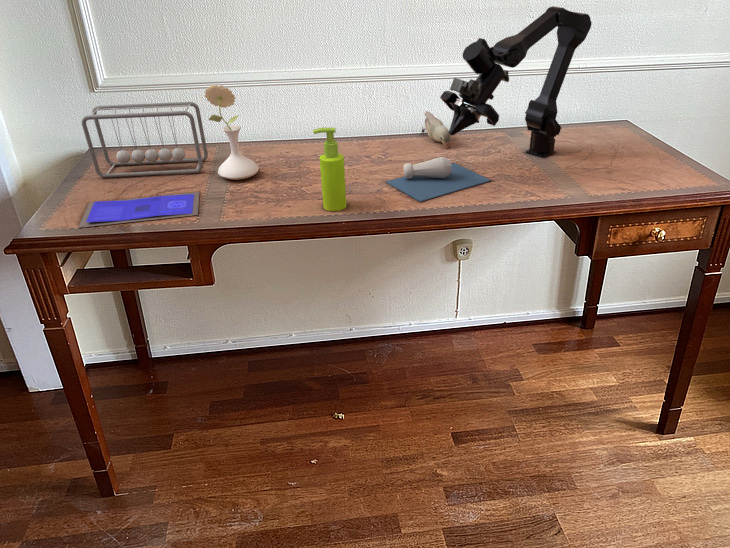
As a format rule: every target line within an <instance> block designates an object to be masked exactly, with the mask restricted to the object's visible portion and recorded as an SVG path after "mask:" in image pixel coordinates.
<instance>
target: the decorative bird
mask: <svg viewBox="0 0 730 548" xmlns="http://www.w3.org/2000/svg"><path fill="white" fill-rule="evenodd" d="M423 115H424V116H425V118H424V126H423V125H421V126H422V127H421V133H420V135H422V134H423V136H425V134H427V135H428V137H429V138H430V139H431V140H432V141H436V142H438V143H441V144H442V145H443V146H444V148H446V149H447V148H448V147H449V146H450V142H451V135H450V134H449V130H450V129H449V128H447V126H445V125H444V123H443V121H442V120H441V119H439V118H437V117H435V115H434V114H433V113H432V112H430V111H429V110H425V112H423Z"/></svg>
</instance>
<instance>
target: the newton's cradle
mask: <svg viewBox="0 0 730 548" xmlns="http://www.w3.org/2000/svg"><path fill="white" fill-rule="evenodd" d="M179 107H181V108H183V107H184V108H185V107H186V108H185V109H184V110H172V108H179ZM190 107H193V108H194V110H195V114H196V119H197V125H198V131H199V134H200V140H201V145H202V146H201V147H202V151H203V156H202V154H201V153H202V152H201V149H200V142H199V138H198V132H197V127H196V121H195V118H194V116H193V114H192V113H191V112H189V111H188V110H189V108H190ZM158 108H168V110H166V111H159V110H158ZM136 109H137V110H138V109H140V110H141V109H142V111H139V112H131V110H136ZM144 109H154V110H153V111H145V110H144ZM116 110H126V111H125V112H123V113H122V112H120V113H118V112H117V111H116ZM98 111H114V112H115V113H102V114H101V113H99V114H97V112H98ZM128 111H129V112H128ZM178 116H179V117H180V116H186V117H187V118H188V119H189V122H190V127H191V133H192V138H193V141H194V149H195V153H196V157H192V158H190V157H189V158H188V157H187V158H186V152H185V150H184V149H183V148H182V147H178V140H177V133H174V132H176V129H175V127H173V126H175V122H174V121H172V124H173V126H172V124H171V120H170V117H171V118H172V120H174V117H178ZM157 117H158V118H157ZM160 117H168V121H169V125H170V129H171V132H172V137H173V140H174V144H175V147H174V148H173V149H172V150H170V149H168V148H166V147H165V145H164V144H165V143H163V142H164V139H163V133H162V127H161V122H160V121H161V120H158V122H159V127H158V123H157V121H156V118H157V119H160ZM133 118H134V119H135V118H139V120H140V124H141V126H142V130H143V133H144V136H145V139H146V142H147V146H148V149H147V150H146V151H145V152H144V151H143V150H141V149H138V146H137V139H136V137H135V131H134V126H133V125H134V124H133V121H132V120H133ZM141 118H144V122H145V128H146V131H145V128H144V124H143V121H142V119H141ZM146 118H154V122H155V125H156V129H157V133H158V136H159V140H160V143H161V146H162V148H161V149H159V151H157V150H156V149H154V148H151V143H150V136H149V131H148V125H147V119H146ZM110 119H111V121H112V122H111V123H112V126H113V130H114V132H115V136H116V139H117V142H118V145H119V149H120V150H119V151H117V153H116V155H115V157H116V160H117V162H120V163H114V162H115V161H112V160H111V159H110V157H109V153H108V150H107V145H106V142H105V139H104V135H103V132H102V127H101V124H100V121H99V120H110ZM113 119H116V124H117V125H116V126H117V129H118V134H117V131H116V127H115V124H114V121H113ZM118 119H125V121H126V123H127V124H126V125H127V127H128V131H129V133H130V136H131V139H132V142H133V145H134V150H133V151H132V152H131V154H130V153H129V152H128V151H127V150H124V149H123V146H122V145H123V144H121V143H122V138H118V136H119V137H121V134H120V127H119V121H118ZM128 119H130V122H131V125H132V126H131V127H132V132H133V134H132V132H131V128H130V126H129V122H128ZM90 120H93V121H94V125H95V128H96V132H97V135H98V139H99V143H100V146H101V150H102V154H103V157H104V160H105V162H106V163H107V164H108V165H110V166H111V167H110V168H109V170H108V171H107V172H106V173H103V172H102V171H101V170H100V167H99V163H98V159H97V156H96V153H95V149H94V146H93V142H92V139H91V135H90V132H89V129H88V125H87V121H90ZM203 125H204V124H203V120H202V115H201V110H200V106H199V105H198V104H197V103H196V102H193V101H178V102H177V101H176V102H175V101H174V102H173V101H172V102H153V103H152V102H151V103H131V104H130V103H129V104H106V105H96V106H94V107H93V109H92V111H91V114H89V115H85V116H84V117H83V118H82V119H81V127H82V130H83V133H84V136H85V137H84V138H85V141H86V144H87V147H88V151H89V153H90V157H91V161H92V164H93V167H94V171H95V173H96V174H97V175H98V177H100V178H103V179H107V178H108V179H109V178H110V179H111V178H112V179H113V178H129V177H130V178H131V177H148V176H149V177H150V176H169V175H170V176H171V175H187V174H198V173H200V172H202V170H203V169H204V163H203V162H205V161H206V160H207V159H208V156H209V153H208V147H207V142H206V135H205V131H204V126H203ZM172 127H173V128H172ZM159 129H160V130H159ZM160 134H161V135H160ZM131 159H132V161H135V162H129V161H131ZM143 161H146V162H143ZM109 163H110V164H109ZM181 163H197V166H196V168H192V169H171V170H170V169H169V170H154V171H153V170H151V171H134V172H133V171H132V172H131V171H130V173H132V174H128V173H129V172H115V173H112V172H111V171H112V170H113V169H114V167H122V166H123V167H124V166H141V165H142V166H143V165H163V164H165V165H166V164H181ZM110 172H111V173H110Z"/></svg>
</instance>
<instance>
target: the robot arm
mask: <svg viewBox="0 0 730 548" xmlns="http://www.w3.org/2000/svg"><path fill="white" fill-rule="evenodd" d="M556 28H557V29H556ZM591 28H592V20H591V16H590V15H589V14H588V13H584V12H576V11H570V10H568V9H566V8H564V7H560V6H550V7H548V8H547V9H546V10H545V11H544V12H543V13H542V14H541V15H539V16H538V17H537V18H536V19H535V20H533V21H532V22H531V23H529V24H528V25H527V26H525V28H523V29H522V30H520V31H519V32H518V33H517V34H515V35H511V36H506V37H505V38H503V39H501V40H499V41H497V42H496V43H495V44H494V45H493V46H491V47H490V46H489V44H488V42H487V40H486V39H485V38H481V37H478V39H477V40H476V41H474V42H471V43H469V45H467V46H466V47H465V48H464V49H463V52H462V58H463V60H464V62H466V64H467V66H469V68H470V69H471V70H472V72H473V73H474V74H476V75H478V76H477V77H476V79H472V78H471V79H469V80H468V81H467V80H464V79H463V80H462V79H460V78H457V77H453V79H452V82H451V85H450V88H449V90H444V91H443V92H442V94H441V95H440V96H439V98H440V100H441V101H442V102H443V103H444V104H445V105H446V106H447V107H448V109H449V110H451V111H453V115H452V116H453V117H452V120H451V123H450V126H449V129H448V130H449V134H450V136H454V135H456V134H458V133H459V132H461V131H463V130H465V129H466V128H469V127H471V126H473V125H475V124H479V123H480V122H481V121H480V118H481V117H484V118H486V123H487V124H488V125H491V126H493V127H495V126H496V125H497V124H498V122H499V120H500V114H499V113H498V111H496V109H495V108H494V107H493V106H492V105H491V104H489V103H487V102H488V100H491V101H492V100H493V99H494V98H495V96H494V92H495V91H496V89H497V88H498V87H499V85H500V83H501V82H505V83H509V82H510V75H509V72H510V71H509V70H506V69H504V68H503V67H508V68H512V69H513V68H516V67H517V66H519V65H520V64H521V62H522V61H524V59H525V58H526V57H527V54H528V51H529V50H530V49H531V48H532V47H534V45H536V44H537V43H538V42H539V41H541V40H542V39H543V38H544V37H546V36H547V35H548V34H549V33H551V32H552V31H553V30H554V29H556V38H557V39H556V40H557V46H556V49H555V51H554V54H553V57H552V59H551V63H550V66H549V68H548V71H547V74H546V77H545V79H544V82H543V84H542V88H541V90H540V93H539V95H538V97H537V98H535V99H534V100H533V99H530V100H529V102H528V105H527V109H526V111H525V112H524V114H525V116H524V122H525V125H526V129H527V131H530V141H529V146H528V147H529V148H528V149H527V150H525V153H527V154H530V155H534V156H538V157H541V158H545V157H547V156H550V155H552V154H554V153H556V149H555V144H556V138H555V137H557V136H559V135H560V133H561V131H562V126H561V125H560V124H559V122H558V120H557V116H558V105H557V99H558V97H559V94H560V91H561V89H562V86H563V83H564V81H565V78H566V75H567V72H568V70H569V68H570V64H571V62H572V59H573V56H574V54H575V51H576V49H577V48H578V47H579V46H580V45H582V43H584V41H585V40H586V38H587V36H588V34H589V32H590V30H591ZM457 93H458V94H457Z"/></svg>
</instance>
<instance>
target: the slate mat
mask: <svg viewBox="0 0 730 548" xmlns="http://www.w3.org/2000/svg"><path fill="white" fill-rule="evenodd" d="M451 168H452V173H451V175H449V176H447V177H445V178H429V177H414V176H413V178H412V179H406V178H405V177H404V176H401V177H398V178H393V179H390V180H386V181H385V183H386V184H387V185H389V186H391V187H393V188H395V189H397V190H398V191H400V192H401V193H403V194H405V195H407V196H409V197H410V198H411V199H414V200H416V201H417V202H419V203H422V202H425V201H428V200H432V199H435V198H439V197H442V196H445V195H448V194H452V193H457V192H459V191H463V190H465V189H468V188H473V187H476V186H479V185H482V184H486V183H488V182H492V180H491V179H490V178H487V177H485V176H483V175H481V174H479V173H477V172H475V171H473V170H470V169H469V168H467V167H464V166H462V165H460V164H457V163H455V162H453V163H452V162H451Z"/></svg>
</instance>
